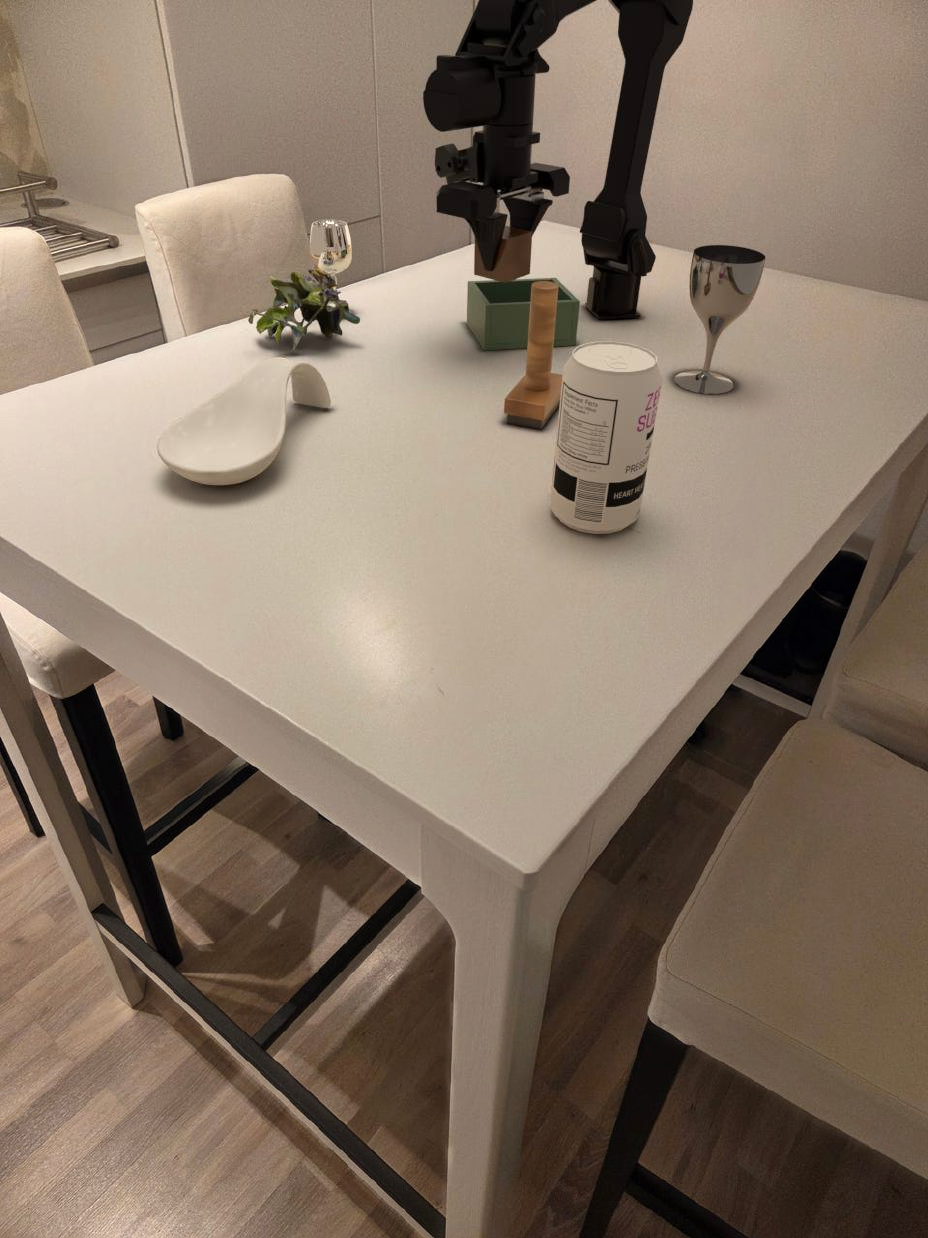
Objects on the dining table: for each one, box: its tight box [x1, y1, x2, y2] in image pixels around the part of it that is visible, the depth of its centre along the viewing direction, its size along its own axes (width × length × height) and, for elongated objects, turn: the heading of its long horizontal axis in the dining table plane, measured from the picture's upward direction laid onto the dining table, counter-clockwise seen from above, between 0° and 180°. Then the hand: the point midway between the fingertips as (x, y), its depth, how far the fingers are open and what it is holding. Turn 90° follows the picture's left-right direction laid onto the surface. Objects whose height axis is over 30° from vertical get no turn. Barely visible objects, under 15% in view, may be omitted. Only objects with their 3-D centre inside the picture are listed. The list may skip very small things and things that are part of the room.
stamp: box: [503, 281, 563, 430], centre depth 94 cm, size 5×9×14 cm, turn 159°
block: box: [473, 225, 533, 283], centre depth 106 cm, size 5×5×5 cm
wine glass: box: [674, 244, 766, 395], centre depth 101 cm, size 8×8×15 cm
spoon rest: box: [156, 356, 332, 486], centre depth 87 cm, size 24×12×7 cm, turn 160°
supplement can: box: [549, 340, 663, 535], centre depth 75 cm, size 8×8×15 cm
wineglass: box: [309, 219, 353, 313], centre depth 119 cm, size 6×6×12 cm
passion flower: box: [247, 268, 361, 356], centre depth 111 cm, size 11×11×12 cm
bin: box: [466, 277, 581, 351], centre depth 116 cm, size 13×11×6 cm
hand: (502, 265), depth 107 cm, fingers closed on block, 5 cm apart
